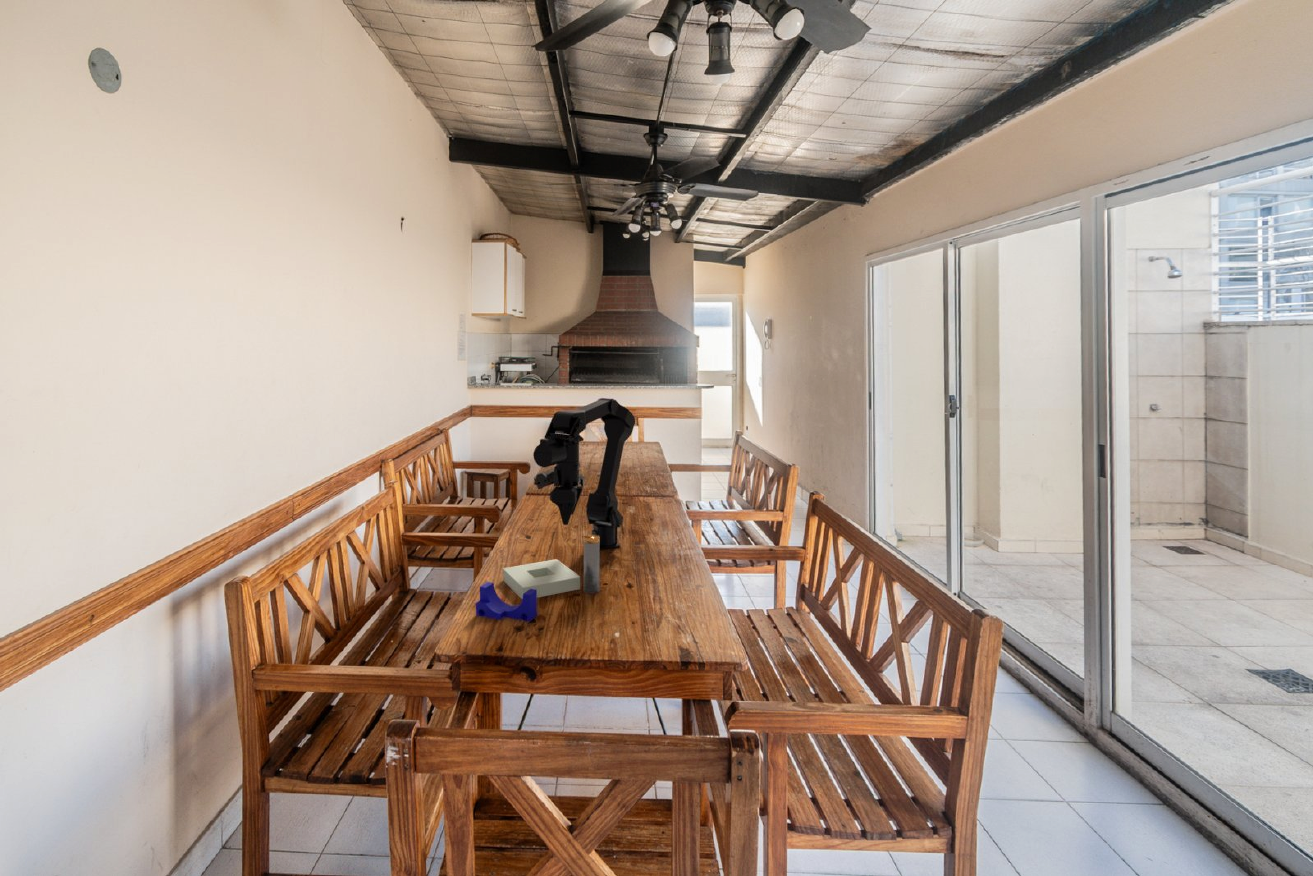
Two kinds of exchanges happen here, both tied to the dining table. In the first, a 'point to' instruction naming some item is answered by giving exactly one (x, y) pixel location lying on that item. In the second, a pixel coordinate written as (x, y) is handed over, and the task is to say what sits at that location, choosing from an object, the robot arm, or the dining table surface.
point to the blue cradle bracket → (505, 605)
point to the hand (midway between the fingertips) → (568, 519)
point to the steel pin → (591, 563)
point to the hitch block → (541, 578)
